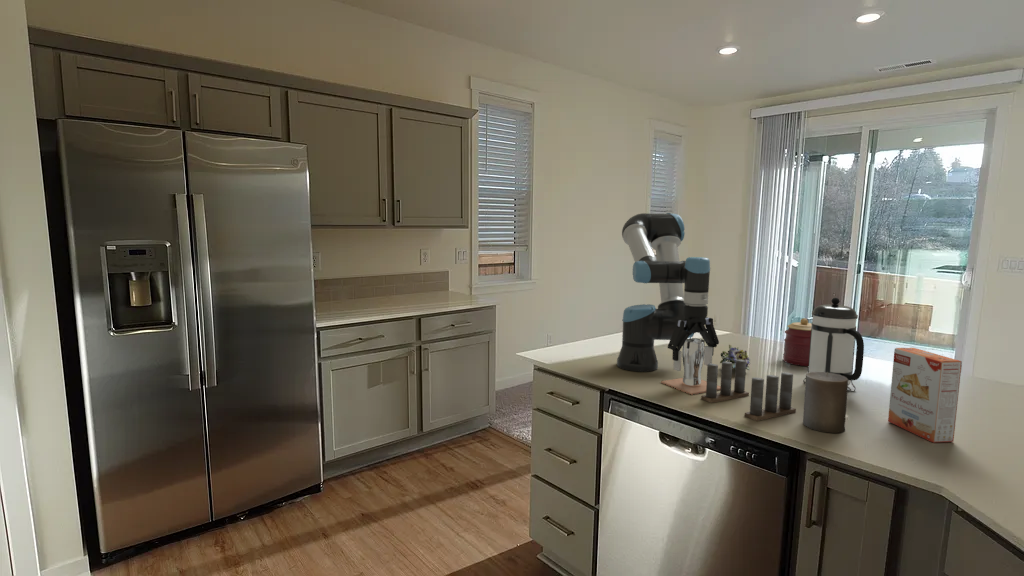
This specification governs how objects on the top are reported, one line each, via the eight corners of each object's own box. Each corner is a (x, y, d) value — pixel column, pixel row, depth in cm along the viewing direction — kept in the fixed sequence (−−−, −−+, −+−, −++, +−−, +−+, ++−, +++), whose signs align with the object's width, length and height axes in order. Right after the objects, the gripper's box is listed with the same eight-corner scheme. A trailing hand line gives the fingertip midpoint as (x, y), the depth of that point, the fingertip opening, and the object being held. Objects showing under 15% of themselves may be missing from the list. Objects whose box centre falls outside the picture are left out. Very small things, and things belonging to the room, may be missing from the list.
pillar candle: (853, 431, 134) (858, 375, 132) (824, 435, 131) (828, 377, 129) (821, 418, 143) (825, 365, 141) (793, 421, 140) (797, 368, 139)
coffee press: (796, 387, 170) (803, 298, 166) (809, 377, 181) (815, 293, 178) (859, 400, 158) (867, 303, 155) (868, 388, 170) (876, 298, 166)
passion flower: (740, 388, 186) (738, 367, 179) (713, 376, 194) (709, 355, 187) (757, 368, 190) (755, 346, 183) (729, 357, 198) (726, 335, 191)
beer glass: (704, 388, 167) (706, 343, 165) (682, 386, 169) (684, 342, 167) (701, 381, 174) (703, 338, 172) (679, 380, 175) (681, 337, 173)
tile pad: (661, 382, 174) (661, 381, 174) (692, 377, 180) (692, 376, 180) (691, 395, 162) (691, 393, 162) (723, 389, 168) (723, 387, 168)
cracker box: (886, 422, 140) (893, 347, 138) (906, 421, 141) (914, 346, 138) (932, 443, 126) (940, 360, 124) (954, 442, 127) (963, 360, 124)
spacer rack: (701, 398, 158) (702, 364, 157) (738, 392, 165) (740, 358, 164) (756, 421, 140) (759, 381, 139) (795, 412, 147) (798, 374, 146)
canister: (785, 356, 211) (788, 314, 209) (822, 361, 204) (825, 317, 201) (780, 363, 201) (783, 318, 198) (818, 368, 193) (822, 322, 191)
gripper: (674, 308, 159) (671, 375, 162) (732, 303, 170) (729, 366, 172) (658, 305, 166) (655, 369, 169) (714, 300, 177) (711, 361, 179)
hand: (692, 367), depth 170 cm, fingers open, 13 cm apart
